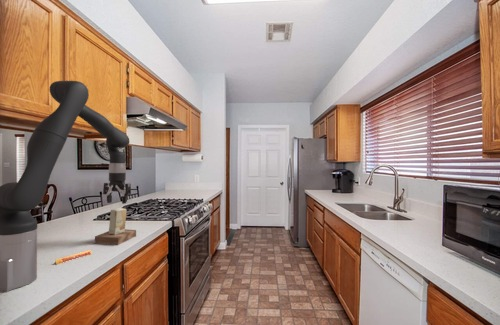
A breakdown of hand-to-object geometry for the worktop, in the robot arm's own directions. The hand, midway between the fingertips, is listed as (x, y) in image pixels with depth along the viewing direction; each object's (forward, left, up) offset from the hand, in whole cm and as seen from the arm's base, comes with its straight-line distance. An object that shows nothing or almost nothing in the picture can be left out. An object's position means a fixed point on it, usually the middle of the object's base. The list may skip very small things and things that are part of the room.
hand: (116, 203), depth 114 cm
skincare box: (0, 0, -16) cm, 16 cm away
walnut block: (0, 0, -20) cm, 20 cm away
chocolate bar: (-23, 0, -20) cm, 30 cm away
